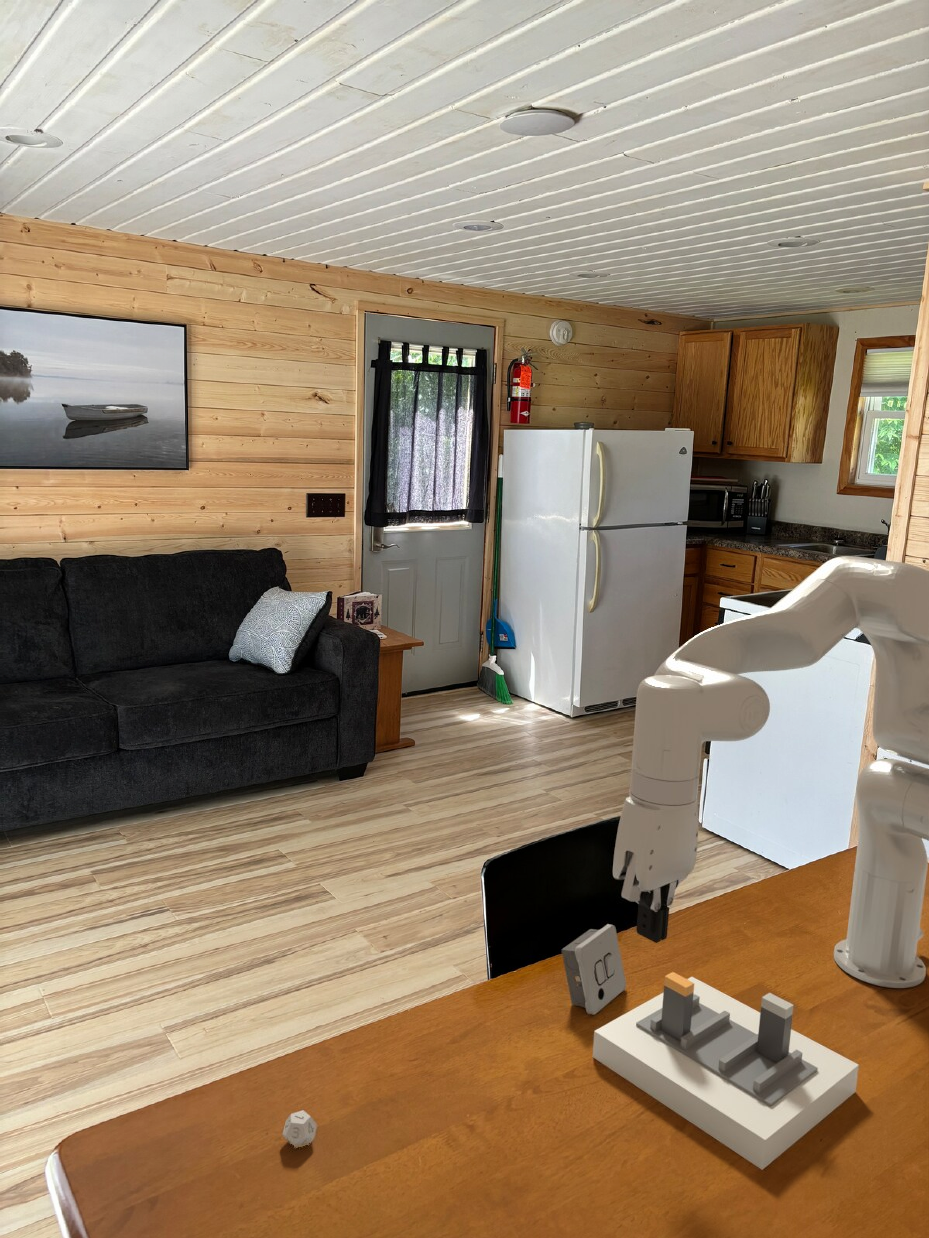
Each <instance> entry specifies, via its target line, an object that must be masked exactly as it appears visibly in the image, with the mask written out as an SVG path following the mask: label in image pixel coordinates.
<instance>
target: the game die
mask: <svg viewBox="0 0 929 1238" xmlns="http://www.w3.org/2000/svg"><path fill="white" fill-rule="evenodd" d="M317 1127H318V1124H317V1123H316V1122H315V1120H314V1119H313V1117H312V1116H311V1115H310V1114H308V1113H307V1112H306V1111H305V1110H303V1109H302V1110H300V1111H296V1112H292V1113H290V1115H289V1116H288V1117H287V1118H286V1120H285V1123H284V1127H283V1131H282V1136H283V1137H284V1138H285V1140H286V1139H287V1140H288V1141H290V1143H291V1144H293V1145H294V1146H295V1147H298V1146H301V1145H304V1144H308V1143H310V1144H311V1143H312V1142H313V1140H314V1139H315V1137H316V1131H317ZM287 1140H286V1141H287ZM288 1141H287V1142H288ZM290 1143H289V1144H290ZM291 1144H290V1145H291ZM295 1147H294V1148H295Z"/></svg>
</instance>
